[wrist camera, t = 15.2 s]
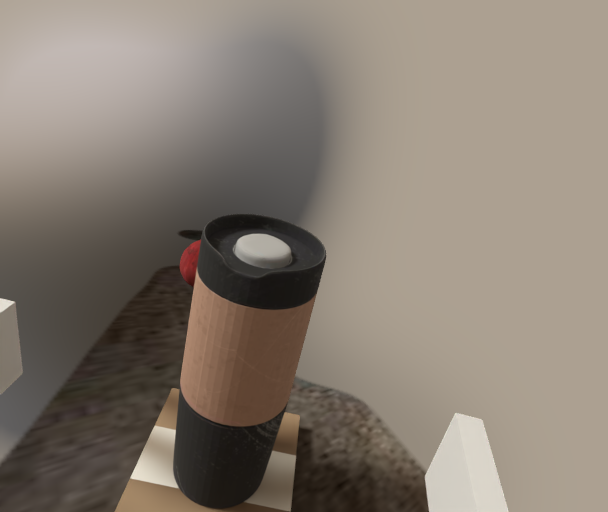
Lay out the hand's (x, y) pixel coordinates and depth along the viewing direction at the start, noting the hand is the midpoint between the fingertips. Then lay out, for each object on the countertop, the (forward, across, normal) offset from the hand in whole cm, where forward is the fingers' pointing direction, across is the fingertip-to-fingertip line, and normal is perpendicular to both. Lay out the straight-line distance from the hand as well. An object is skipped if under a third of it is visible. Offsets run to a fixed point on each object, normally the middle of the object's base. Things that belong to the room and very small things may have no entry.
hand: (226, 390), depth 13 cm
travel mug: (+14, -2, -22) cm, 26 cm away
